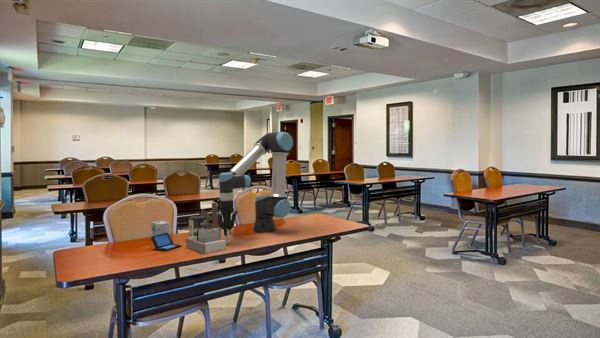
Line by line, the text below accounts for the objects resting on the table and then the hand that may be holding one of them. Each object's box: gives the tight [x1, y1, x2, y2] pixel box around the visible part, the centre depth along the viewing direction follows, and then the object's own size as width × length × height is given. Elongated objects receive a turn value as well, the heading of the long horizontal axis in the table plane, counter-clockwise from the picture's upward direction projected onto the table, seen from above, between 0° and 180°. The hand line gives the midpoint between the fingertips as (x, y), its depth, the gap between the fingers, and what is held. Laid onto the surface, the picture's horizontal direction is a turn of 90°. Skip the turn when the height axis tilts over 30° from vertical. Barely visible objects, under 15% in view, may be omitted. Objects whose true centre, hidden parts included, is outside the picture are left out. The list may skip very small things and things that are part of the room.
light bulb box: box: [151, 220, 171, 237], centre depth 235 cm, size 11×7×11 cm, turn 47°
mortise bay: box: [185, 236, 227, 255], centre depth 213 cm, size 14×20×5 cm
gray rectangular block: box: [197, 226, 223, 243], centre depth 214 cm, size 14×5×10 cm, turn 115°
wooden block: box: [201, 201, 220, 229], centre depth 263 cm, size 4×11×18 cm, turn 130°
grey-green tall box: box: [188, 214, 206, 238], centre depth 232 cm, size 10×10×14 cm
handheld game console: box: [150, 233, 182, 252], centre depth 214 cm, size 12×11×7 cm
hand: (227, 240), depth 222 cm, fingers closed
